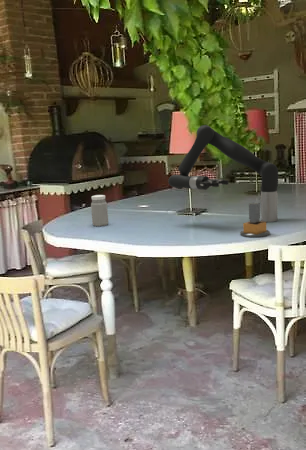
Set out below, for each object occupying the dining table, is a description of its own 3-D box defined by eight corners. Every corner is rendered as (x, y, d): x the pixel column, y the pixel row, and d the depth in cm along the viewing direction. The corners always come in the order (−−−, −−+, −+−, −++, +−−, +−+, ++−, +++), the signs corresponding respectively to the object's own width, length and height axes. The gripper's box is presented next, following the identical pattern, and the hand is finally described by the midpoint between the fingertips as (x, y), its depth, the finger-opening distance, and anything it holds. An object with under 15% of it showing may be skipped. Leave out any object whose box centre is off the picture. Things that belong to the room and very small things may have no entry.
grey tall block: (249, 232, 274) (248, 203, 271) (253, 230, 277) (253, 202, 274) (256, 233, 271) (255, 204, 269) (260, 231, 274) (259, 203, 271)
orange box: (234, 235, 274) (234, 223, 273) (250, 230, 285) (250, 218, 284) (259, 238, 264) (259, 226, 263) (275, 233, 274) (275, 221, 273)
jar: (98, 223, 331) (96, 194, 327) (111, 223, 326) (109, 194, 323) (89, 226, 322) (87, 197, 319) (103, 226, 318) (100, 197, 314)
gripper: (190, 177, 288) (214, 178, 277) (207, 174, 298) (230, 174, 287) (191, 191, 289) (215, 192, 278) (207, 187, 299) (231, 188, 288)
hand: (223, 183), depth 282 cm, fingers open, 8 cm apart
